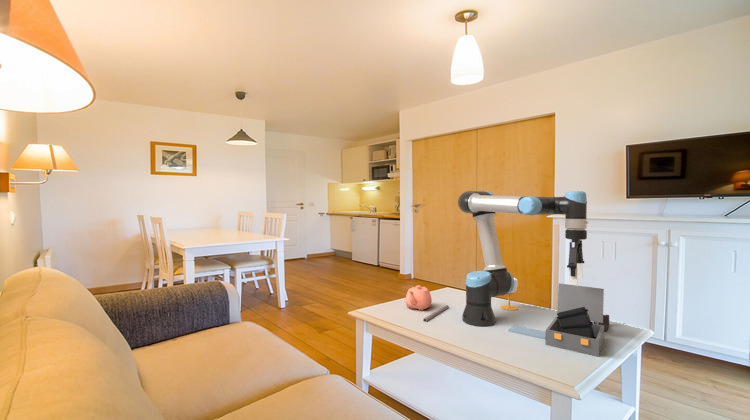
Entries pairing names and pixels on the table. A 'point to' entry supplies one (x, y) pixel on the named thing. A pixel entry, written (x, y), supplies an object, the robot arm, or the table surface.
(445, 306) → the metal rod
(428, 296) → the pink rounded piece
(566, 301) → the lid
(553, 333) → the case
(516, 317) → the table surface
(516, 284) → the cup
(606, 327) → the bracket
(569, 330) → the magazine
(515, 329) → the mat
